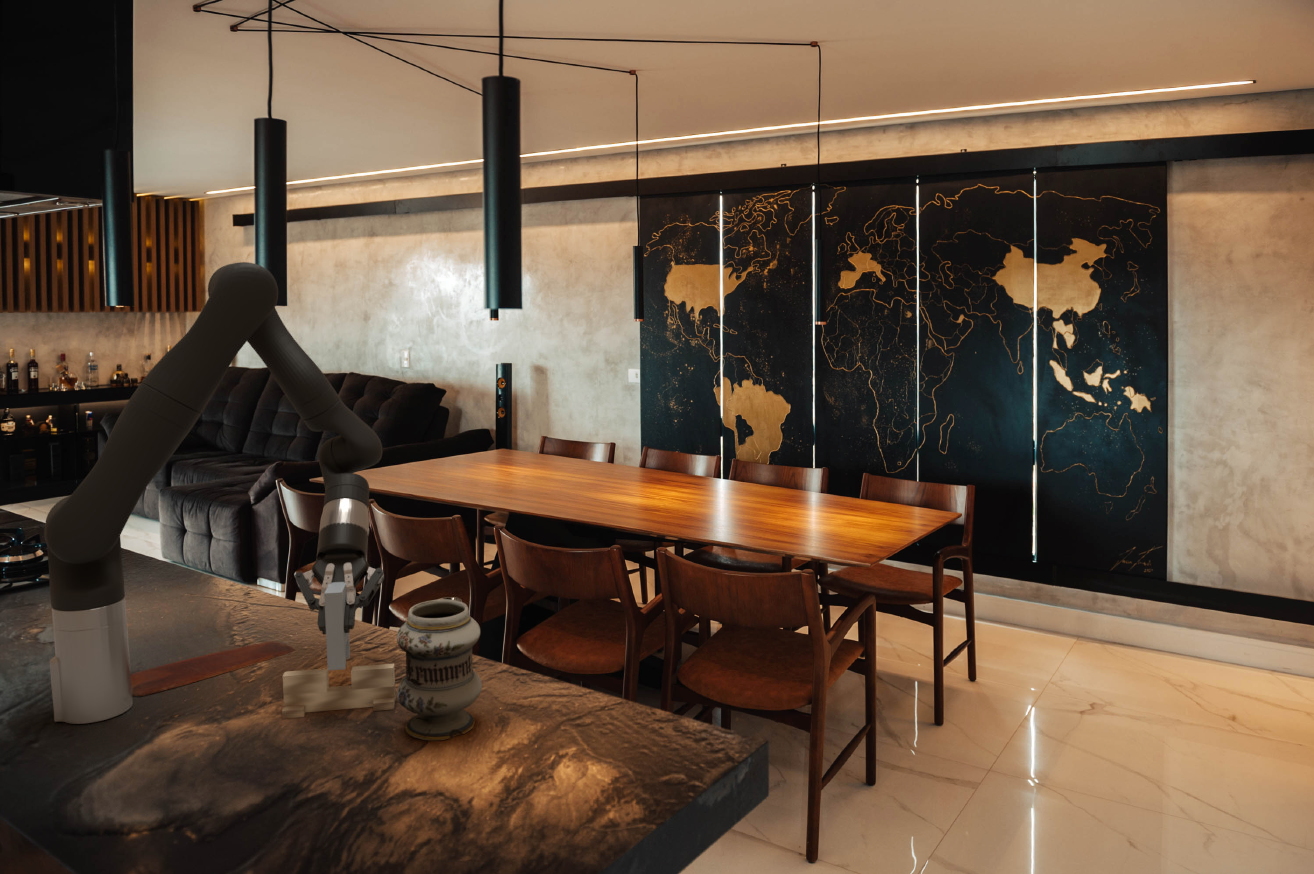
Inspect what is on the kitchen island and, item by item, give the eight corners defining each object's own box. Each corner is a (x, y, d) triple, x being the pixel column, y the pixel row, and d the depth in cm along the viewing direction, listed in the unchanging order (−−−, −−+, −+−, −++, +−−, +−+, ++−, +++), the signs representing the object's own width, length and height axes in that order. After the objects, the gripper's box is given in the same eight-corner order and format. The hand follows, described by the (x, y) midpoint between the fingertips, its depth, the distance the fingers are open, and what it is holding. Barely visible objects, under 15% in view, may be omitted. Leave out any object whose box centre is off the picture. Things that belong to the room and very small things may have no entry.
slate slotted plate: (327, 670, 128) (324, 593, 126) (333, 656, 133) (329, 582, 131) (345, 669, 128) (341, 592, 127) (350, 655, 133) (346, 581, 132)
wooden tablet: (138, 703, 134) (137, 692, 134) (115, 685, 140) (115, 675, 140) (301, 654, 154) (300, 645, 154) (275, 641, 160) (274, 632, 160)
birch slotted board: (282, 718, 127) (280, 680, 126) (289, 704, 132) (287, 667, 131) (393, 709, 131) (392, 671, 130) (396, 695, 135) (395, 659, 135)
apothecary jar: (428, 753, 117) (424, 627, 115) (382, 726, 125) (378, 608, 123) (499, 724, 126) (497, 607, 124) (452, 700, 134) (449, 589, 132)
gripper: (294, 522, 134) (281, 623, 123) (386, 519, 137) (381, 617, 126) (302, 547, 139) (290, 645, 129) (390, 543, 142) (386, 639, 132)
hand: (335, 631), depth 128 cm, fingers closed on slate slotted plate, 2 cm apart
